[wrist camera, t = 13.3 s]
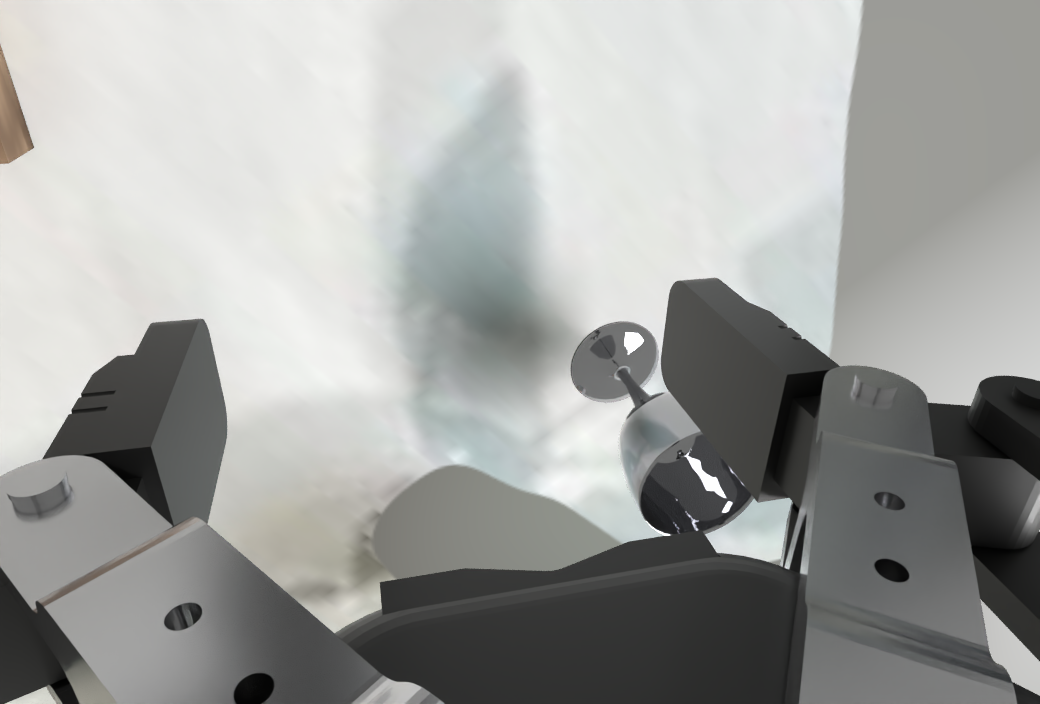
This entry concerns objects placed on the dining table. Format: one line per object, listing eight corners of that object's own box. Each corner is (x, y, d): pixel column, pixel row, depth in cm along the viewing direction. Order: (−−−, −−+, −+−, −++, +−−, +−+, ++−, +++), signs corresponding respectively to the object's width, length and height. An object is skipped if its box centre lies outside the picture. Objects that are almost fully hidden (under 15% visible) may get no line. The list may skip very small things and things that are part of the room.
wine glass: (675, 319, 53) (783, 431, 41) (648, 407, 57) (740, 536, 44) (578, 313, 51) (659, 430, 38) (557, 405, 55) (625, 540, 42)
